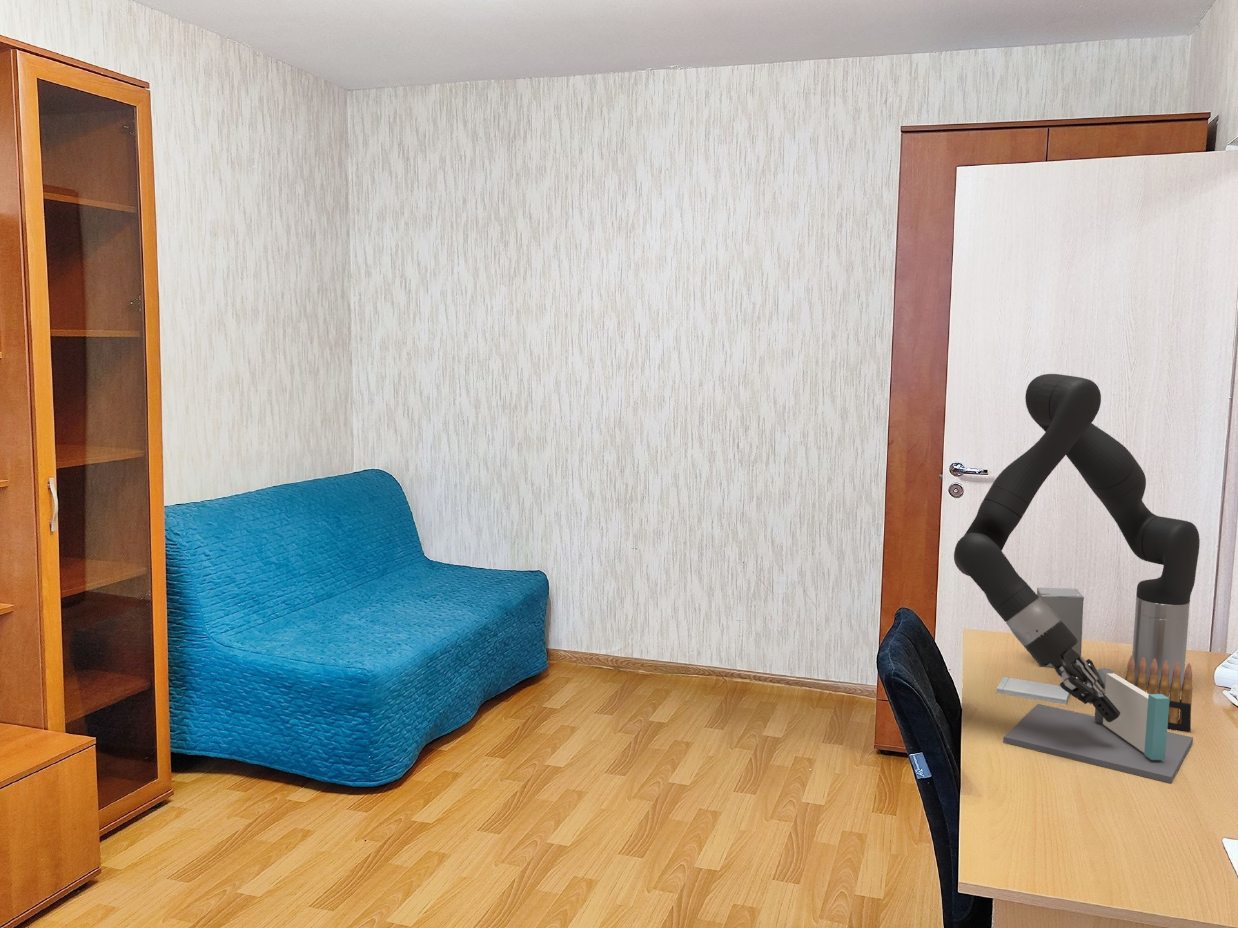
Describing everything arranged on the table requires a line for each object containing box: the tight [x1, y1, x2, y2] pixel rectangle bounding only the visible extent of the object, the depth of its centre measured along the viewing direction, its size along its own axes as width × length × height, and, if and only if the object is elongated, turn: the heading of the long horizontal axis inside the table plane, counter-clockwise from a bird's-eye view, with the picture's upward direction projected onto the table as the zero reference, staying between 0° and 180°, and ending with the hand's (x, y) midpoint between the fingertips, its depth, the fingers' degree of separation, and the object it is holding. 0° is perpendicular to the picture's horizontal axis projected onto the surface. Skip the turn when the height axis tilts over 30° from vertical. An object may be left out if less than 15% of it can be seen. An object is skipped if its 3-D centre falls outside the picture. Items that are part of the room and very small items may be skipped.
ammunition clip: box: [1124, 655, 1194, 733], centre depth 175 cm, size 11×2×12 cm, turn 63°
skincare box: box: [1036, 587, 1085, 668], centre depth 208 cm, size 8×7×16 cm
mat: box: [1003, 703, 1194, 784], centre depth 168 cm, size 20×25×1 cm
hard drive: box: [995, 676, 1071, 706], centre depth 192 cm, size 2×8×12 cm
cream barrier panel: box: [1094, 667, 1170, 760], centre depth 165 cm, size 18×2×10 cm, turn 3°
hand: (1115, 718), depth 163 cm, fingers closed
